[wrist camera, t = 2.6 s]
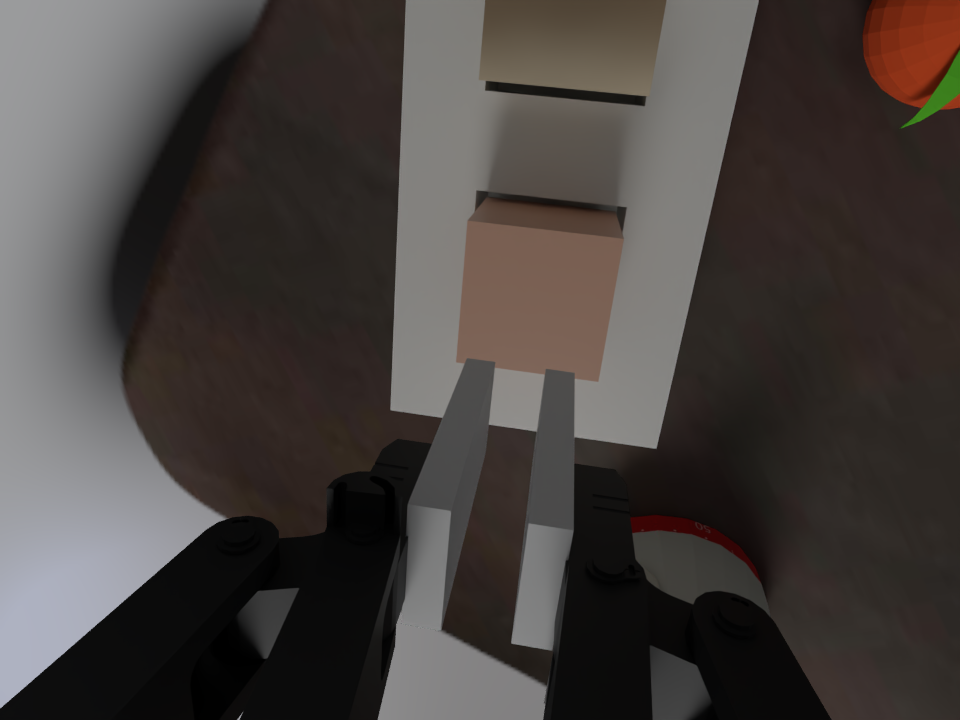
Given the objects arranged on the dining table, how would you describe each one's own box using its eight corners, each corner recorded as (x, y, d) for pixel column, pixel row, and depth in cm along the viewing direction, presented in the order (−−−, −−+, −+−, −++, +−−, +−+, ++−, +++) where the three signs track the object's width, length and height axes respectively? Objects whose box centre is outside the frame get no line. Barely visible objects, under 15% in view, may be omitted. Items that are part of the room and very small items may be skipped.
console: (447, -206, 29) (416, -275, 23) (769, -188, 28) (817, -256, 22) (416, 365, 40) (390, 410, 34) (645, 397, 39) (656, 448, 33)
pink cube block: (487, 196, 30) (467, 220, 25) (615, 211, 30) (623, 238, 24) (476, 316, 33) (456, 362, 27) (594, 332, 32) (598, 381, 27)
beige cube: (512, -80, 26) (495, -125, 21) (663, -69, 26) (686, -112, 20) (497, 81, 28) (478, 79, 23) (634, 94, 28) (649, 96, 22)
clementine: (923, 152, 32) (1012, 168, 25) (795, 95, 32) (851, 97, 25) (1041, -24, 28) (1178, -57, 22) (898, -89, 28) (994, -141, 22)
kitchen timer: (800, 626, 44) (903, 873, 30) (626, 698, 48) (645, 940, 35) (689, 479, 41) (747, 679, 27) (514, 571, 45) (487, 781, 31)
